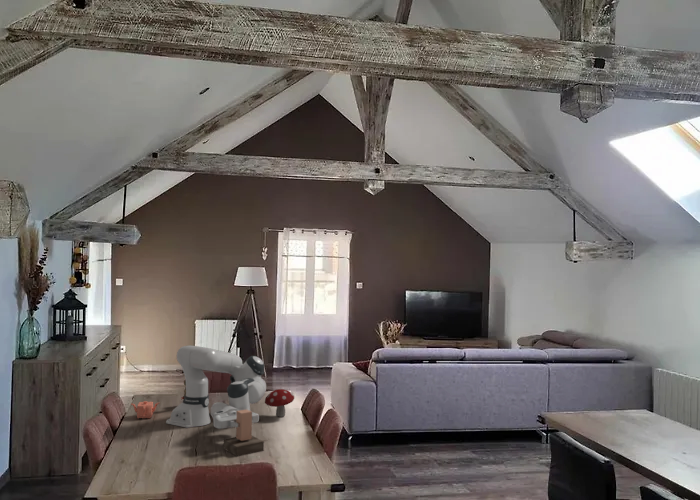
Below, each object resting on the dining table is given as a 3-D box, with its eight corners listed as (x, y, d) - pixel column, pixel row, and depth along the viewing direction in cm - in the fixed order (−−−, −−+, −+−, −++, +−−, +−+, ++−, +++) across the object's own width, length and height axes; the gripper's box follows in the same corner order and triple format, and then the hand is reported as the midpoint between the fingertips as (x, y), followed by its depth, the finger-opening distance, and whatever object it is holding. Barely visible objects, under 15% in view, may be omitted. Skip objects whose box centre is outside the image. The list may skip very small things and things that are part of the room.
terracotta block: (236, 437, 267) (236, 410, 267) (246, 435, 270) (246, 409, 270) (241, 440, 263) (241, 413, 263) (251, 438, 266) (252, 411, 266)
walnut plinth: (223, 448, 268) (223, 439, 268) (249, 443, 276) (249, 434, 276) (236, 456, 257) (237, 447, 257) (263, 450, 265) (263, 441, 265)
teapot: (158, 419, 312) (159, 403, 312) (128, 421, 309) (128, 404, 309) (160, 413, 324) (161, 398, 324) (131, 414, 320) (131, 399, 320)
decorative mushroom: (296, 420, 315) (297, 391, 315) (266, 422, 310) (267, 393, 310) (291, 412, 330) (291, 384, 330) (262, 414, 325) (262, 386, 326)
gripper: (250, 420, 283) (265, 427, 272) (210, 427, 271) (223, 435, 260) (251, 407, 283) (265, 413, 272) (210, 413, 271) (224, 420, 260)
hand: (244, 424), depth 266 cm, fingers closed on terracotta block, 5 cm apart
